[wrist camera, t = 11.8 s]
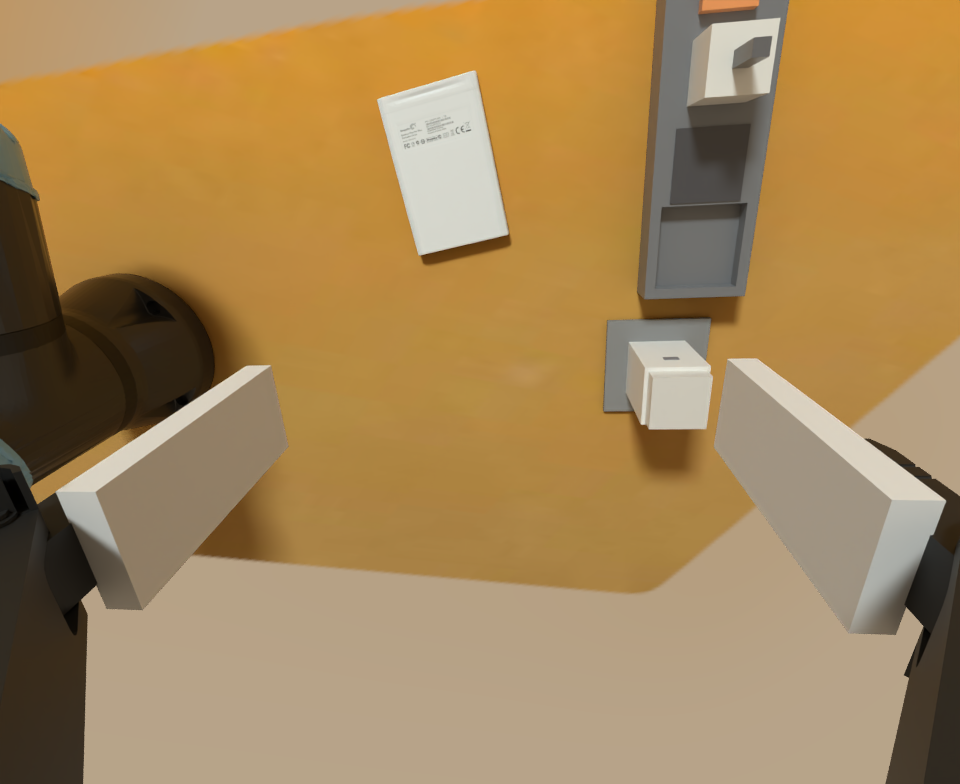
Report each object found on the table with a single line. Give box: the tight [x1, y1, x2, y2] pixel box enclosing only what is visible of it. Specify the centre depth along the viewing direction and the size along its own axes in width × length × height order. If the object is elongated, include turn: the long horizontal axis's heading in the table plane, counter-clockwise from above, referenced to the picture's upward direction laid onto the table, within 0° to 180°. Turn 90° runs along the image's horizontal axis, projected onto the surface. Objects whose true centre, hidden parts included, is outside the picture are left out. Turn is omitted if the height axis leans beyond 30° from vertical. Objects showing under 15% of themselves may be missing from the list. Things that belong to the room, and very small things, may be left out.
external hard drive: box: [377, 71, 509, 256], centre depth 42 cm, size 2×8×12 cm
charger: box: [626, 340, 713, 429], centre depth 43 cm, size 5×5×8 cm
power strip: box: [637, 0, 789, 299], centre depth 34 cm, size 30×8×10 cm, turn 3°
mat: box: [603, 317, 711, 411], centre depth 47 cm, size 9×9×1 cm
